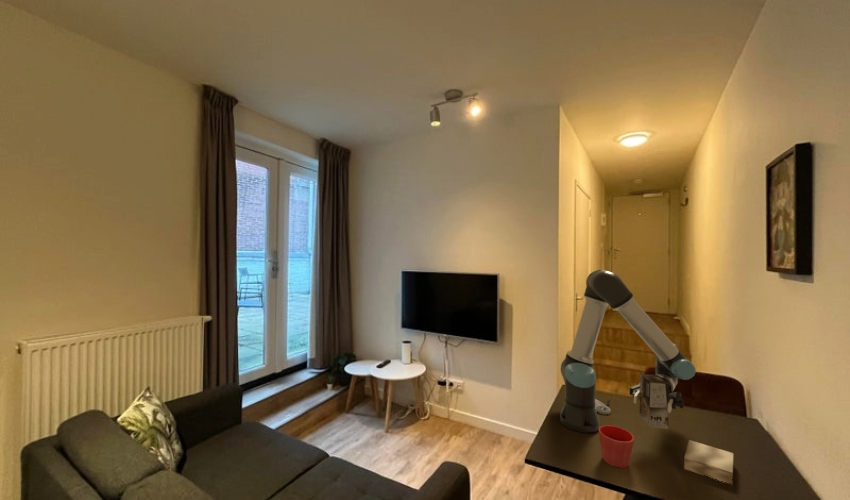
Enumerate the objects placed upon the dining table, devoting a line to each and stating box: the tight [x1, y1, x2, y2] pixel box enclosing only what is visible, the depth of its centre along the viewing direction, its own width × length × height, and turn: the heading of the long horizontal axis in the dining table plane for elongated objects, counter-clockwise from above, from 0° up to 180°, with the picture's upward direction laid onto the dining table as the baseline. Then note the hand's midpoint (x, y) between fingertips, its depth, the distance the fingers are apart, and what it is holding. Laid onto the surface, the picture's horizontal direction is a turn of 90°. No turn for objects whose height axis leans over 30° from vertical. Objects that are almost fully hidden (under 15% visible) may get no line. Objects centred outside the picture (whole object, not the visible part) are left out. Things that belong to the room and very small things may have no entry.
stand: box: [683, 439, 734, 485], centre depth 118 cm, size 12×14×4 cm
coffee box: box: [639, 373, 670, 430], centre depth 128 cm, size 9×6×16 cm
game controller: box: [595, 398, 611, 415], centre depth 162 cm, size 15×13×2 cm
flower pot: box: [598, 425, 635, 469], centre depth 121 cm, size 11×11×10 cm
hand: (651, 404), depth 125 cm, fingers closed on coffee box, 10 cm apart
